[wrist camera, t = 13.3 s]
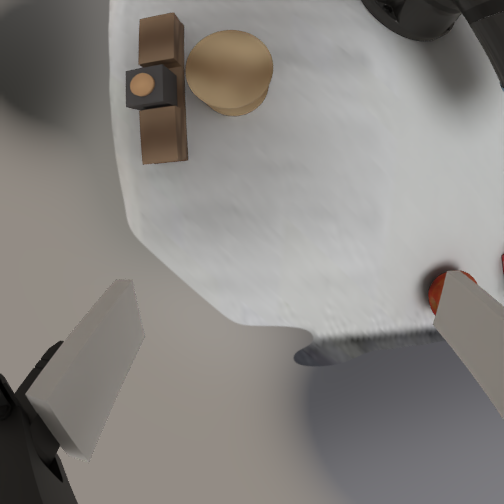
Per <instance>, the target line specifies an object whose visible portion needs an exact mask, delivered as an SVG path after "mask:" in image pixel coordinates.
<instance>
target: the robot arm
mask: <svg viewBox="0 0 504 504" xmlns="http://www.w3.org/2000/svg"><path fill="white" fill-rule="evenodd" d="M362 1H363V3H364V5H365V6H366V7H367V9H368V10H369V11H370V12H371V13H372V14H373V15H374V17H376V18H377V19H378V20H379V21H380V22H381V23H382V24H384V25H385V26H386V27H388V28H389V29H391V30H392V31H394V32H396V33H397V34H399V35H401V36H404V37H406V38H409V39H412V40H417V41H431V40H434V39H437V38H439V37H441V36H443V35H445V34H447V33H448V32H449V31H450V30H451V28H452V27H453V25H454V23H455V21H456V20H457V19H458V18H459V16H460V15H461V13H462V14H463V16H464V17H465V19H466V20H467V22H468V23H469V25H470V27H471V28H472V30H473V32H474V33H475V35H476V37H477V38H478V40H479V42H480V43H481V45H482V47H483V49H484V50H485V52H486V54H487V56H488V58H489V60H490V62H491V64H492V66H493V68H494V70H495V72H496V74H497V76H498V78H499V81H500V85H501V88H502V90H503V91H504V0H362ZM502 11H503V12H502ZM499 12H500V13H499ZM496 13H497V14H496ZM491 15H492V16H491ZM488 16H489V17H488ZM485 17H486V18H485ZM480 19H481V20H480ZM433 325H434V327H435V328H436V329H437V330H438V331H439V333H440V334H441V335H442V336H443V338H444V339H445V340H446V341H447V342H448V344H449V345H450V346H451V347H452V349H453V350H454V351H455V353H456V354H457V355H458V357H459V358H460V359H461V360H462V362H463V363H464V364H465V366H466V367H467V368H468V370H469V371H470V372H471V374H472V375H473V376H474V378H475V379H476V381H477V382H478V383H479V385H480V386H481V387H482V389H483V390H484V391H485V393H486V394H487V396H488V397H489V399H490V400H491V401H492V403H493V404H494V406H495V407H496V409H497V411H498V412H499V413H500V415H501V416H502V418H503V419H504V306H502V305H501V304H500V303H499V302H498V301H497V300H495V299H494V298H493V297H492V296H491V295H489V294H488V293H487V292H486V291H485V290H483V289H482V288H481V287H480V286H478V285H477V284H476V283H475V282H473V281H472V280H471V279H470V278H468V277H467V276H466V275H464V274H463V273H462V272H461V271H459V270H457V271H447V273H446V277H445V281H444V286H443V290H442V294H441V297H440V301H439V305H438V309H437V312H436V316H435V319H434V322H433ZM144 338H145V334H144V330H143V325H142V321H141V317H140V312H139V308H138V303H137V298H136V294H135V289H134V284H133V280H122V279H119V280H117V279H116V280H115V281H114V282H113V283H112V285H111V286H110V287H109V288H108V289H107V290H106V291H105V293H104V294H103V295H102V296H101V297H100V298H99V300H98V301H97V302H96V303H95V304H94V305H93V307H92V308H91V309H90V310H89V311H88V313H87V314H86V315H85V316H84V317H83V319H82V320H81V321H80V322H79V324H78V325H77V326H76V327H75V328H74V330H73V331H72V332H71V333H70V335H69V336H68V337H67V339H66V340H65V341H59V342H57V343H56V344H55V345H53V346H52V347H50V348H49V349H48V350H47V352H46V353H45V354H44V355H43V356H42V358H41V360H39V362H38V363H37V364H36V366H35V368H33V370H32V371H31V372H30V373H29V375H28V376H27V377H26V379H25V380H24V381H23V383H22V384H21V385H20V387H19V388H18V390H17V391H16V392H15V394H14V392H13V391H12V389H11V387H10V386H9V384H8V382H7V380H6V379H5V377H4V376H3V375H2V374H0V504H78V503H77V501H76V499H75V496H74V494H73V491H72V489H71V486H70V484H69V481H68V479H67V476H66V473H65V471H64V468H63V465H62V462H61V460H60V458H59V456H58V454H57V451H58V449H59V447H60V446H61V447H62V449H63V450H64V451H65V452H66V454H67V455H68V456H70V457H73V458H76V459H79V460H82V461H86V462H90V459H91V457H92V454H93V452H94V449H95V447H96V444H97V442H98V440H99V437H100V435H101V432H102V430H103V428H104V425H105V423H106V421H107V418H108V416H109V414H110V411H111V409H112V407H113V404H114V402H115V400H116V398H117V396H118V393H119V391H120V389H121V387H122V385H123V383H124V380H125V378H126V376H127V374H128V372H129V370H130V367H131V365H132V363H133V361H134V359H135V357H136V355H137V352H138V351H139V349H140V346H141V344H142V342H143V340H144Z"/></svg>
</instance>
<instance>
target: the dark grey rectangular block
mask: <svg viewBox="0 0 504 504" xmlns="http://www.w3.org/2000/svg"><path fill="white" fill-rule="evenodd" d="M168 106H177V107H178V104H177V76H176V75H175V74H174V73H173V72H172V71H170V70H169V69H168V68H167V67H165V66H164V65H163V64H161V65H155V66H150V67H144V68H139V69H135V70H130V71H126V107H128V108H133V109H137V110H141V111H142V110H148V109H154V108H161V107H168Z"/></svg>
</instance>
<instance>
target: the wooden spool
mask: <svg viewBox="0 0 504 504" xmlns="http://www.w3.org/2000/svg"><path fill="white" fill-rule="evenodd" d="M185 72H186V79H187V82H188V85H189V87H190V89H191V90H192V92H193V93H194V94H195V95H196V96H197V97H198V98H199V99H201V100H202V101H203V102H205V103H207V105H209V106H210V107H211V108H212V109H213V110H215V111H216V112H218V113H221V114H223V115H228V116H240V115H244V114H247V113H249V112H251V111H253V110H255V109H256V108H257V107H258V106H260V104H261V103H262V102H263V101H264V99H265V97H266V95H267V92H268V87H269V83H270V81H271V78H272V74H273V61H272V57H271V54H270V52H269V50H268V49H267V47H266V46H265V45H264V43H263V42H262V41H260V40H259V39H258V38H256V37H255V36H253V35H251V34H249V33H246V32H243V31H237V30H225V31H220V32H216V33H213V34H211V35H209V36H207V37H205V38H204V39H202V40H201V41H200V42H199V43H197V44H196V46H195V47H194V48H193V49H192V51H191V52H190V54H189V56H188V59H187V62H186V70H185Z"/></svg>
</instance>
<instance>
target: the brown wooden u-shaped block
mask: <svg viewBox="0 0 504 504" xmlns="http://www.w3.org/2000/svg"><path fill="white" fill-rule="evenodd" d="M161 64H163V65H164V66H165V67H167V68H168V69H169V70H170V71H172V72H173V73H174V74H175V75H176V76H177V104H178V107H177V106H168V107H161V108H154V109H148V110H142V111H139V114H140V134H141V149H142V162H143V165H144V164H152V163H154V164H158V163H167V162H177V161H187V160H188V148H187V130H186V109H185V80H184V25H183V24H182V23H181V22H180V21H179V19H178V18H177V16H176V15H175V13H168V14H163V15H158V16H153V17H148V18H144V19H140V26H139V65H140V66H142V67H143V68H144V67H150V66H155V65H161Z"/></svg>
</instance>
